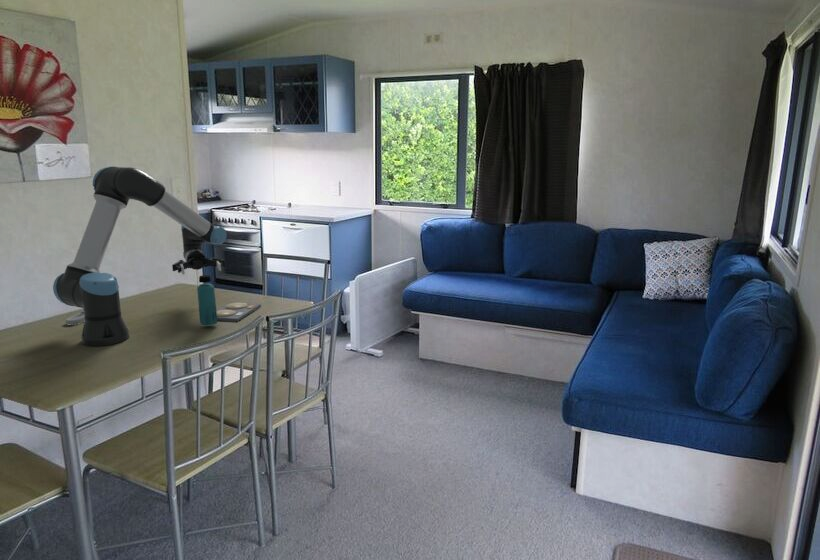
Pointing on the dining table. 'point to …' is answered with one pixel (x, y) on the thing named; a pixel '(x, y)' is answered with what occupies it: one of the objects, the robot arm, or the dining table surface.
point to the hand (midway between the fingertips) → (201, 269)
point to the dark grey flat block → (235, 311)
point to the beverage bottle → (206, 302)
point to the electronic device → (76, 318)
